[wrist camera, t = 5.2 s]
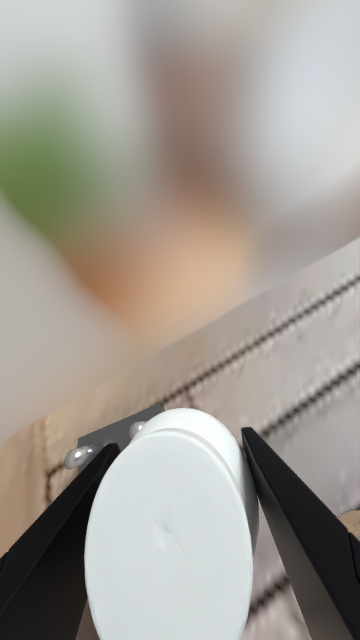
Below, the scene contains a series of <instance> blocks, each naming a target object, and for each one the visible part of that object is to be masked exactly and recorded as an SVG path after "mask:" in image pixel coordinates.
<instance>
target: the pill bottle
mask: <svg viewBox="0 0 360 640" xmlns="http://www.w3.org/2000/svg"><path fill="white" fill-rule="evenodd" d="M258 528H259V507H258V498H257V492H256V487H255V483H254V479H253V476H252V472H251V469H250V466H249V464H248V461H247V459H246V457H245V454H244V452H243V450H242V448H241V446H240V445H239V444H238V442H237V441H236V439H235V438H234V436H233V435H232V434H231V433H230V431H229V430H228V429H227V428H226V427H225V426H224V425H223V424H222V423H221V422H219V421H218V420H217V419H215V418H214V417H212V416H211V415H209V414H207V413H205V412H202V411H200V410H196V409H191V408H177V409H171V410H168V411H165V412H162V413H160V414H158V415H156V416H155V417H153V418H152V419H150V420H149V421H148V422H146V423H145V424H144V425H143V426H142V427H141V428H140V429H139V431H138V432H137V433H136V434H135V436H134V437H133V439H132V440H131V442H130V444H129V445H128V446H127V447H126V448H125V449H124V450H123V451H122V452H121V453H120V454H119V455H118V457H117V458H116V459H115V460H114V462H113V463H112V464H111V466H110V467H109V469H108V470H107V472H106V474H105V475H104V477H103V479H102V481H101V483H100V486H99V488H98V490H97V493H96V495H95V498H94V501H93V505H92V508H91V512H90V517H89V521H88V526H87V532H86V540H85V553H84V563H85V584H86V590H87V595H88V601H89V607H90V611H91V615H92V619H93V623H94V626H95V628H96V631H97V633H98V636H99V638H100V640H240V638H241V635H242V632H243V629H244V626H245V624H246V621H247V616H248V611H249V605H250V600H251V592H252V581H253V556H254V552H255V548H256V543H257V537H258Z"/></svg>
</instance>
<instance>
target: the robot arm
mask: <svg viewBox="0 0 360 640" xmlns="http://www.w3.org/2000/svg"><path fill="white" fill-rule="evenodd" d="M241 433H242V441H243V446H244V450H245V454H246V457H247V461H248V464H249V466H250V469H251V472H252V476H253V479H254V483H255V487H256V492H257V495H258V498H259V501H260V504H261V507H262V509H263V512H264V515H265V517H266V520H267V523H268V525H269V528H270V530H271V533H272V536H273V538H274V541H275V544H276V546H277V549H278V551H279V554H280V557H281V559H282V562H283V565H284V567H285V570H286V573H287V575H288V578H289V580H290V583H291V586H292V588H293V591H294V594H295V596H296V599H297V602H298V604H299V607H300V609H301V612H302V615H303V617H304V620H305V623H306V625H307V628H308V631H309V633H310V636H311V638H312V640H360V541H359V540H358V539H357V538H356V537H355V535H354V534H353V533H351V532H349V531H348V529H347V527H346V526H345V525H344V524H343V523H342V522H341V521H340V520H339V519H338V518H337V517H336V516H335V515H334V514H333V513H332V511H331V510H330V509H329V508H328V507H327V506H326V505H325V504H324V503H323V502H322V501H321V500H320V499H319V498H318V497H317V496H316V495H315V494H314V493H313V491H312V490H311V489H310V488H309V487H308V486H307V485H306V484H305V483H304V482H303V481H302V480H301V479H300V478H299V477H298V476H297V475H296V474H295V473H294V471H293V470H292V469H291V468H290V467H289V466H288V465H287V464H286V463H285V462H284V461H283V460H282V459H281V458H280V457H279V456H278V455H277V454H276V453H275V452H274V450H273V449H272V448H271V447H270V446H269V445H268V444H267V443H266V442H265V441H264V440H263V439H262V438H261V437H260V436H259V435H258V434H257V433H256V432H255V430H254V429H253V428H251V427H243V428H241ZM120 453H121V451H120V448H119V446H118V444H117V443H116V442H115V443H108V444H107V445H106V446H105V447H104V448H103V449H102V450H101V451H100V452H99V453H98V454H97V455H96V456H95V457H94V459H93V460H92V461H91V462H90V463H89V464H88V465H87V466H86V467H85V468H84V469H83V470H82V471H81V473H80V474H79V475H78V476H77V477H76V478H75V479H74V480H73V481H72V482H71V483H70V484H69V485H68V486H67V488H66V489H65V490H64V491H63V492H62V493H61V494H60V495H59V496H58V497H57V498H56V499H55V500H54V501H53V503H52V504H51V505H50V506H49V507H48V508H47V509H46V510H45V511H44V512H43V513H42V514H41V515H40V517H39V518H38V519H37V520H36V521H35V522H34V523H33V524H32V525H31V526H30V527H29V528H28V529H27V530H26V532H25V533H24V534H23V535H22V536H21V537H20V538H19V539H18V540H17V541H16V542H15V543H14V544H13V545H12V547H11V548H10V549H9V551H8V552H6V553H5V554H4V555H3V556H2V557H1V558H0V640H75V639H76V635H77V632H78V628H79V625H80V621H81V618H82V614H83V611H84V607H85V604H86V600H87V597H88V595H87V590H86V584H85V563H84V553H85V540H86V532H87V526H88V521H89V517H90V512H91V508H92V505H93V501H94V498H95V495H96V493H97V490H98V488H99V486H100V483H101V481H102V479H103V477H104V475H105V474H106V472H107V470H108V469H109V467H110V466H111V464H112V463H113V462H114V460H115V459H116V458H117V457H118V455H119V454H120Z"/></svg>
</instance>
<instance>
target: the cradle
mask: <svg viewBox="0 0 360 640" xmlns="http://www.w3.org/2000/svg"><path fill="white" fill-rule="evenodd" d="M162 412H165V409H164V406H163V404H162V403H160V404H157V405H155V406H153V407H150V408H148V409H146V410H143V411H141V412H139V413H136V414H134V415H132V416H129V417H127V418H125V419H122V420H120V421H118V422H115V423H113V424H111V425H108V426H106V427H104V428H101V429H99V430H97V431H94V432H92V433H90V434H87V435H85V436H83V437H80V438H78V448H77V449H73V450H70V451H69V452H68V453H67V455H66V457H65V460H64V464H65V467H66V468H67V469H73V468H75V467H78V466H79V474H80V473H81V471H82V470H83V469H84V468H85V467H86V466H87V465H88V464H89V463H90V462H91V461H92V460H93V459H94V457H95V456H96V455H97V454H98V453H99V452H100V451H101V450H102V449H103V448H104V447H105V446H106V445H107V444H108V443H115V442H116V443H117V444H118V446H119V448H120V451H121V452H122V451H123V450H124V449H125V448H126V447H127V446H128V445H129V444H130V442H131V440H132V439H133V437H134V436H135V434H136V433H137V432H138V431H139V429H140V428H141V427H142V426H143V425H144V424H145V423H146V422H148V421H149V420H150V419H152V418H153V417H155V416H156V415H158V414H160V413H162Z"/></svg>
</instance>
